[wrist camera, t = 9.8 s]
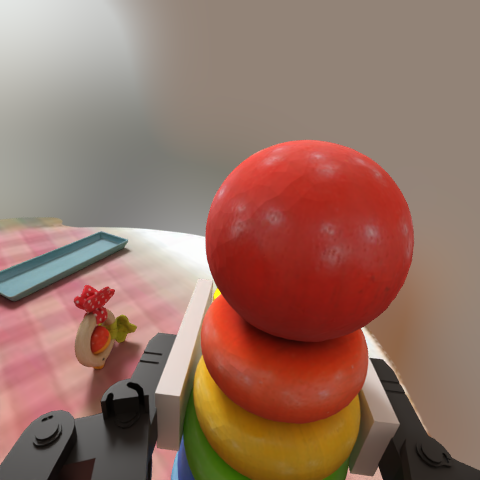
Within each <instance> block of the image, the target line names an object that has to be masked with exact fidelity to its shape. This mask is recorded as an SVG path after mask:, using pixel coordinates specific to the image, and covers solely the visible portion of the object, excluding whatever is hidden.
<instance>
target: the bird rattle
mask: <svg viewBox="0 0 480 480" xmlns="http://www.w3.org/2000/svg"><path fill="white" fill-rule="evenodd" d="M114 292H115V290H114V289H110V288H109V287H105V288H103V289H102V290H100V291H97V290H96V289H94V288H93V287H91V286H89V285H85V286H84V289H83V292H82V294H81V295H79V296H77V297H76V298H75V299H74V303H75V305H76V306H77V307H78V308H80V309H83V310H85V311H86V312H87V313H86V314H85V315H84V319H83V321H82V322H81V324H80V327H79V329H78V332H77V335H76V340H75V353H76V357H77V359H78V361H79V362H80V363H81V364H82V365H84V366H86V367H93V368H95V369H102V368H103V366H104V364H105V361H106V359H107V357H108V356H109V354H110V352H111V350H112V347H113V345H114V341H115V340H116V341H117V342H118V343H121V342H123V341H125V339H126V336H127V334H128V333H131V332H135V330H136V328H137V327H136V326H135V325H134V324H131V323H129V321H128V318H127V317H126V316H125V315H120V316H119V317H117V318H116V319H115V317H114V315H113V313H112V312H111V311H110V310H108V309H106V308H104V307H103V306H104V305H105V303H107V302H108V300H109V299H110V298H111V297H112V296H113V295H114Z"/></svg>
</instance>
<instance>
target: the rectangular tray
mask: <svg viewBox="0 0 480 480" xmlns="http://www.w3.org/2000/svg"><path fill="white" fill-rule="evenodd" d="M127 242H128V240H127V239H124V238H121V237H118V236H115V235H111V234H108V233H105V232H102V231H101V232H98V233H95V234H93V235H90V236H88V237H85V238H83V239H80V240H78V241H75V242H73V243H71V244H68V245H66V246H63V247H60V248H58V249H55V250H53V251H50V252H48V253H45V254H43V255H40V256H38V257H35V258H33V259H30V260H27V261H25V262H22V263H20V264H17V265H15V266H12V267H10V268H7V269H5V270H2V271H0V295H2V296H4V297H6V298H8V299H10V300H11V301H18V300H20V299H22V298H24V297H26V296H28V295H30V294H32V293H34V292H36V291H38V290H40V289H42V288H44V287H46V286H48V285H50V284H52V283H54V282H57V281H59V280H61V279H63V278H65V277H67V276H69V275H71V274H73V273H75V272H77V271H79V270H81V269H83V268H85V267H87V266H89V265H91V264H93V263H95V262H97V261H99V260H101V259H103V258H105V257H107V256H109V255H111V254H113V253H115V252H117V251H119V250H121V249H123V248H124V247H125V245H126V244H127Z"/></svg>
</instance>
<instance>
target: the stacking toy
mask: <svg viewBox="0 0 480 480" xmlns="http://www.w3.org/2000/svg"><path fill="white" fill-rule="evenodd" d="M413 234H414V231H413V225H412V218H411V215H410V211H409V208H408V204H407V202H406V200H405V198H404V196H403V194H402V193H401V191H400V189H399V188H398V186H397V185H396V183H395V182H394V181H393V179H392V178H391V177H390V176H389V174H388V173H387V172H386V171H385V170H384V169H382V168H381V167H380V166H379V165H378V164H377V163H376V162H374V161H373V160H372V159H370V158H369V157H367V156H365V155H363V154H361V153H359V152H357V151H355V150H354V149H351V148H348V147H345V146H342V145H338V144H335V143H330V142H324V141H316V140H299V141H290V142H285V143H280V144H277V145H274V146H271V147H269V148H266V149H263V150H261V151H259V152H257V153H255V154H253V155H251V156H250V157H249V158H248V159H246V160H245V161H243V162H242V163H241V164H240V165H239V166H237V167H236V168H235V169H234V170H233V171H232V172H231V173H230V175H229V176H228V177H227V178H226V179H225V181H224V182H223V183H222V185H221V186H220V188H219V190H218V191H217V193H216V195H215V197H214V199H213V202H212V204H211V207H210V211H209V215H208V219H207V225H206V255H207V261H208V264H209V268H210V271H211V274H212V277H213V279H214V281H215V284H216V286H217V288H218V290H219V291H220V293H221V294H220V295H219V296H218V297H217V298H216V299H215V300H214V301H213V302H212V304H211V305H210V307H209V309H208V310H207V312H206V314H205V317H204V319H203V323H202V328H201V350H202V356H201V358H200V360H199V363H198V365H197V368H196V372H195V377H194V382H193V388H192V390H191V393H190V396H189V400H188V404H187V409H186V413H185V418H184V424H183V436H182V440H181V445H180V449H179V451H178V452H177V454H176V457H175V460H174V465H173V469H172V475H171V480H345V479H346V475H347V471H348V466H349V459H350V454H351V452H352V449H353V447H354V445H355V442H356V440H357V436H358V433H359V426H360V418H361V413H360V402H359V396H358V393H359V392H360V390H361V389H362V387H363V385H364V382H365V379H366V375H367V370H368V348H367V344H366V340H365V337H364V334H363V332H362V330H361V328H362V327H364V326H365V325H367V324H368V323H370V322H371V321H372V320H374V319H375V318H377V317H378V316H379V315H380V314H381V313H383V312H384V311H385V310H386V309H387V308H388V306H389V305H390V303H391V302H392V301H393V300H394V299H395V298H396V296H397V294H398V292H399V291H400V289H401V287H402V286H403V284H404V282H405V279H406V277H407V274H408V271H409V268H410V265H411V262H412V255H413V246H414V235H413Z"/></svg>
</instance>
